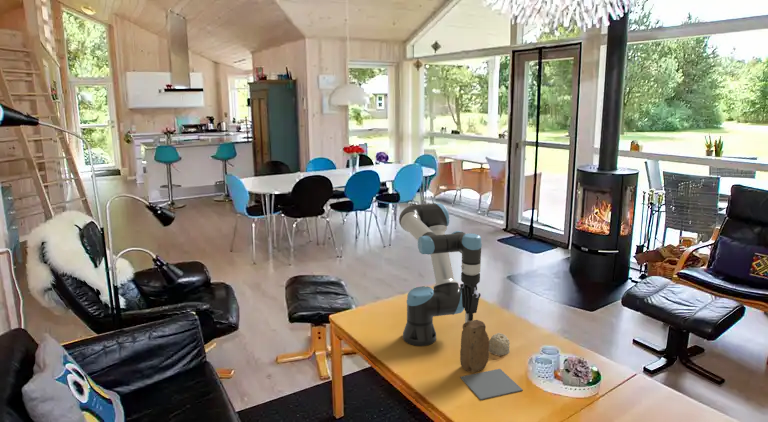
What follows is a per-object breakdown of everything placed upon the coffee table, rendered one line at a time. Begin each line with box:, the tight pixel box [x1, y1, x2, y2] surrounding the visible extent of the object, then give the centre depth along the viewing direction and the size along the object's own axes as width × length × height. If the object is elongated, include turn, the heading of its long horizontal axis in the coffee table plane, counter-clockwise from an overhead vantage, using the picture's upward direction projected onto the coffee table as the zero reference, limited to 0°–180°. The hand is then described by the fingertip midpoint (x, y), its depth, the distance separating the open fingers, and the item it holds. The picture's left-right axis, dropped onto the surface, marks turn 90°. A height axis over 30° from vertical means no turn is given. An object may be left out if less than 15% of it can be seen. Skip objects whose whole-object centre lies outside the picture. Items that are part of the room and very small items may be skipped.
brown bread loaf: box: [459, 319, 490, 373], centre depth 214 cm, size 11×8×20 cm
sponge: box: [489, 332, 511, 357], centre depth 230 cm, size 9×10×10 cm
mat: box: [459, 368, 523, 401], centre depth 204 cm, size 16×18×1 cm
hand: (468, 326), depth 218 cm, fingers closed
